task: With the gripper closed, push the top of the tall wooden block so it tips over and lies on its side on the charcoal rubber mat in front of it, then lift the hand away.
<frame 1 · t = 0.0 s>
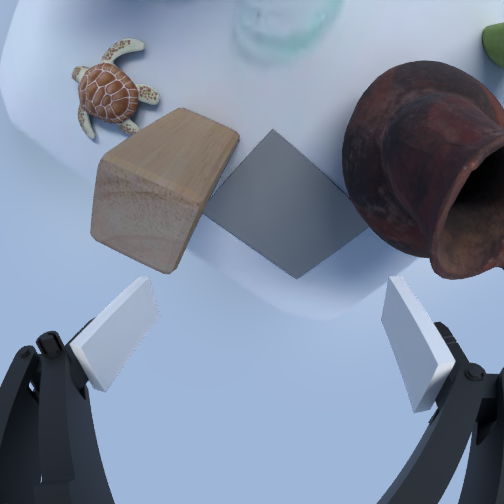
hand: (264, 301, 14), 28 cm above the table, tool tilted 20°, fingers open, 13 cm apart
decorative turtle: (114, 88, 32), on the table
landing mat: (287, 215, 43), on the table
jug: (414, 141, 32), on the table
plant pot: (495, 45, 17), on the table
wooden block: (198, 146, 37), on the table
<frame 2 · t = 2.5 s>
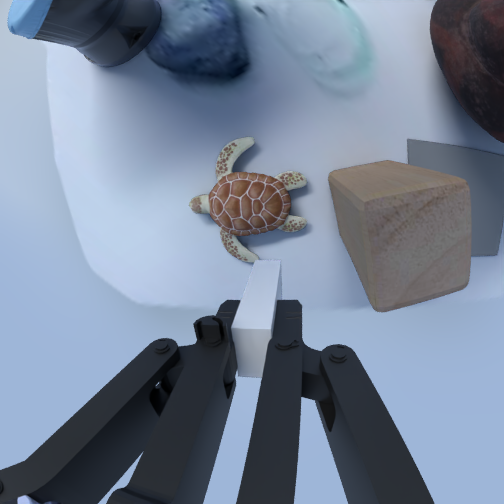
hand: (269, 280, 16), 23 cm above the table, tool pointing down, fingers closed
decorative turtle: (248, 200, 39), on the table
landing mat: (462, 203, 33), on the table
jug: (475, 71, 24), on the table
wooden block: (366, 198, 36), on the table
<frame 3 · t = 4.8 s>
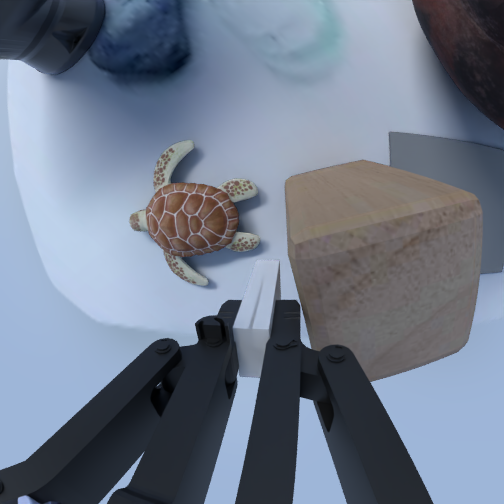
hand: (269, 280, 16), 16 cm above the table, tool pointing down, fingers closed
decorative turtle: (193, 214, 33), on the table
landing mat: (461, 211, 27), on the table
jug: (473, 49, 18), on the table
wooden block: (336, 209, 30), on the table, touching gripper
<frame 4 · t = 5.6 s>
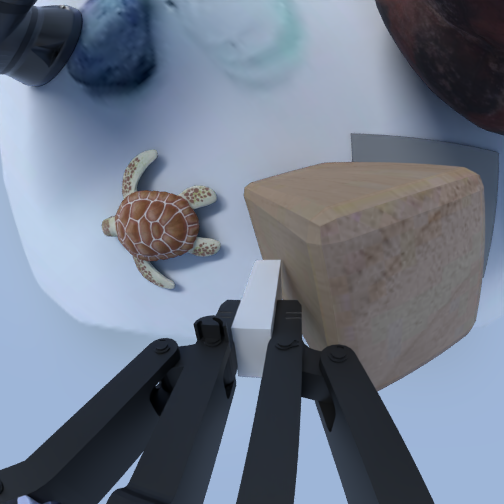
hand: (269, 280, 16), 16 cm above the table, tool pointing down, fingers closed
decorative turtle: (160, 220, 34), on the table
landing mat: (434, 214, 27), on the table
jug: (449, 44, 19), on the table
wooden block: (297, 216, 29), point 1 cm above the table, touching gripper
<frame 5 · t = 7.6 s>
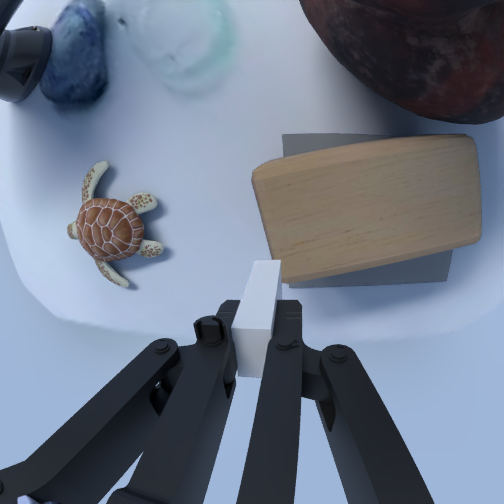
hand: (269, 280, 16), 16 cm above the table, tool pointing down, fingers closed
decorative turtle: (115, 224, 35), on the table
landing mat: (381, 214, 29), on the table
jug: (400, 31, 20), on the table
wooden block: (266, 217, 25), point 5 cm above the table, touching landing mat
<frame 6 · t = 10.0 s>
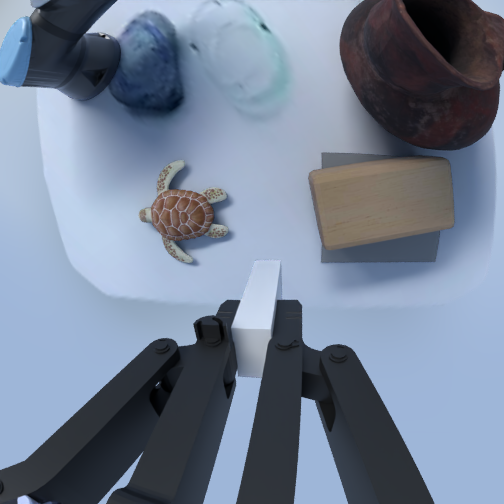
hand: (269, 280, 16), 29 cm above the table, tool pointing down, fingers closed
decorative turtle: (184, 211, 47), on the table
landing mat: (386, 210, 40), on the table
jug: (406, 77, 32), on the table
wooden block: (313, 208, 37), point 5 cm above the table, touching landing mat
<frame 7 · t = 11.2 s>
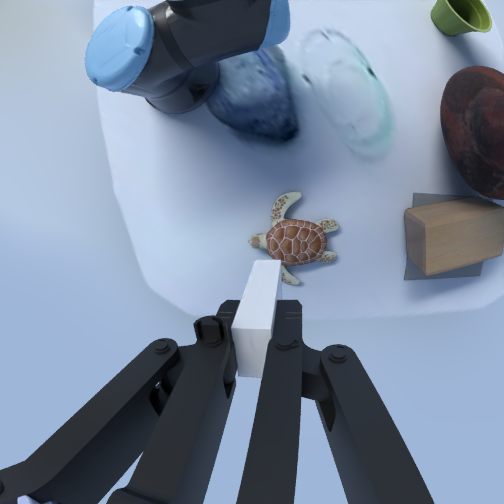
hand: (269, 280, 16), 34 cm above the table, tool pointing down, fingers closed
decorative turtle: (293, 238, 52), on the table
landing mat: (452, 238, 45), on the table
jug: (472, 131, 37), on the table
plant pot: (443, 22, 28), on the table
wooden block: (413, 241, 42), point 5 cm above the table, touching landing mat
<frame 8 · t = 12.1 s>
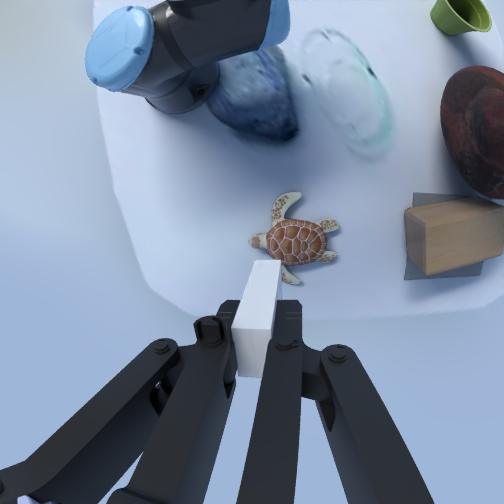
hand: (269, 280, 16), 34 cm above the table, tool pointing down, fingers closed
decorative turtle: (293, 237, 52), on the table
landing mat: (452, 238, 45), on the table
jug: (472, 130, 37), on the table
plant pot: (443, 22, 28), on the table
wooden block: (413, 241, 42), point 5 cm above the table, touching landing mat
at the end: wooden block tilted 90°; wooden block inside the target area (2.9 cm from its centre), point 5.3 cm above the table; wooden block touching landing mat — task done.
